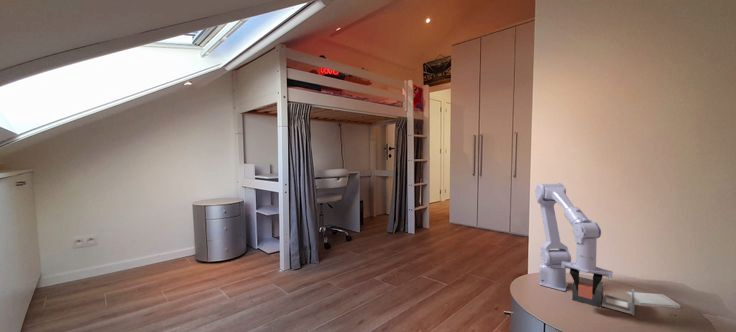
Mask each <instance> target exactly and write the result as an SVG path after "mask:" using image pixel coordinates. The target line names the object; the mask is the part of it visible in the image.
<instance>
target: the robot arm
mask: <svg viewBox="0 0 736 332" xmlns="http://www.w3.org/2000/svg"><path fill="white" fill-rule="evenodd" d="M566 189H567V188H566V187H565V186H564V184H563V183H561V182H559V183H538V184H537V185H536V186H535V190H534V191H535V199H536V202H537V204H539V206H540V212H541V218H542V222H543V229H544V235H545V239H546V241H545V243H543V244H542V246H540V258H541V261H542V262H540V264H539V273H538V274H539V277H538V279H539V283H538V285H539V286H544V287H547V288H552V289H554V290H557V291H562V292H566V290H567V289H568V285H569V283H568V282H567V279H566V277H567V275H566V274H567V271H566V270H567V269H569V274H570V276H571V278H572V280H573V282H575V285H576V290H578V285H579V277H580V272H581V273H585V274H593V275H592V280H593V290H592V294H594V295H595V291H596V288H597V286H598V284H599V283H600V282H602V280H603V277H606V278H609V279H613V271H612V270H608V269H604V268H601V267H598V266H597V245H598V244H597V243H598V242H597V239H599V238H600V237H601V236H602V230H601V229H602V228H601V227H600V225H599V223H598V222H596V221H593V220H591V219H589V218H588V217H587V216H586V215H585V213H584V212H583V211H582V210H581V208H580V207H577V206H574V204H573V202H572V201H571V200H570V198H569V197H568V196H567V190H566ZM555 204H557V205H559V207H560V208H561V209H563V211H564V213H563V215H564V217H565V218H566V220H567V221H568V222H569V224H570V225H571V226H572V233H573V236H574V241H575V243H576V246H575V247H576V251H575V252H576V254H575V255H576V256H575V257H576V258H575V259H576V262H572V255H571V254H570V252H569V249H568V246H567V245H565V244H563V242H561V238H560V232H559V227H558V223H557V222H558V221H557V216H556V211H555Z"/></svg>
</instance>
